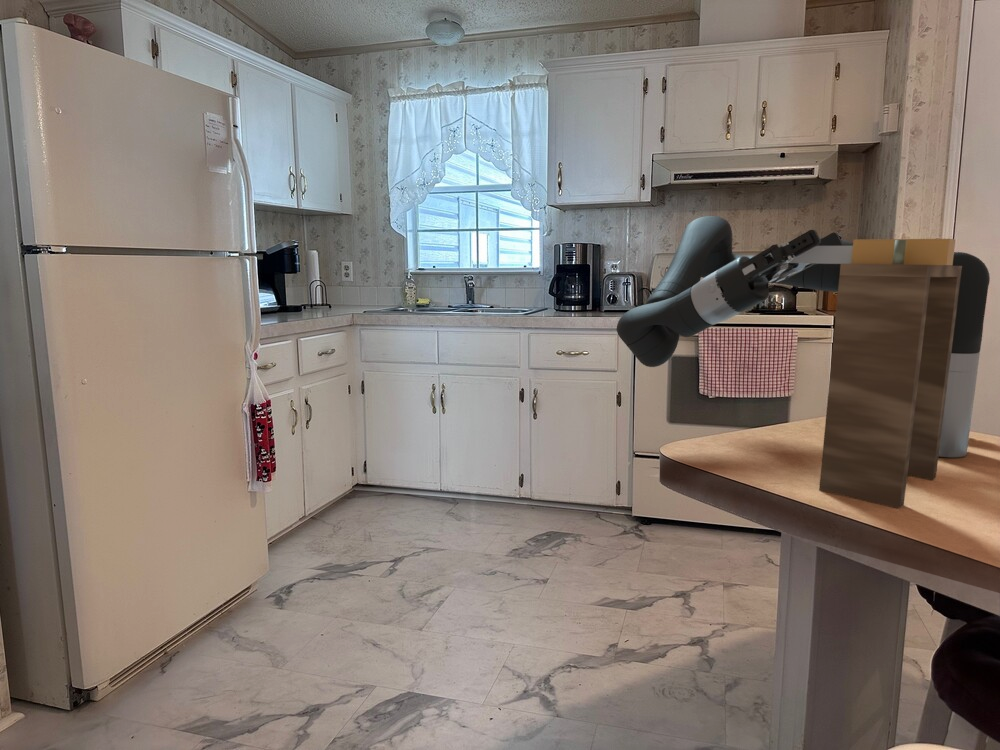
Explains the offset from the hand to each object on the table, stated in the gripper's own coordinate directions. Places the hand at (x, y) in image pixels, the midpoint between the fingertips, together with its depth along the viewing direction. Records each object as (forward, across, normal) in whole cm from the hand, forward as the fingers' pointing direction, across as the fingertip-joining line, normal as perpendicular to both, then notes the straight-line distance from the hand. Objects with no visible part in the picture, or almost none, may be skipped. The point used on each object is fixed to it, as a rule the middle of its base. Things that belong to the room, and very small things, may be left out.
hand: (828, 236), depth 96 cm
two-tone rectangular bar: (+2, 0, -6) cm, 6 cm away
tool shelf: (-10, -5, -34) cm, 36 cm away
